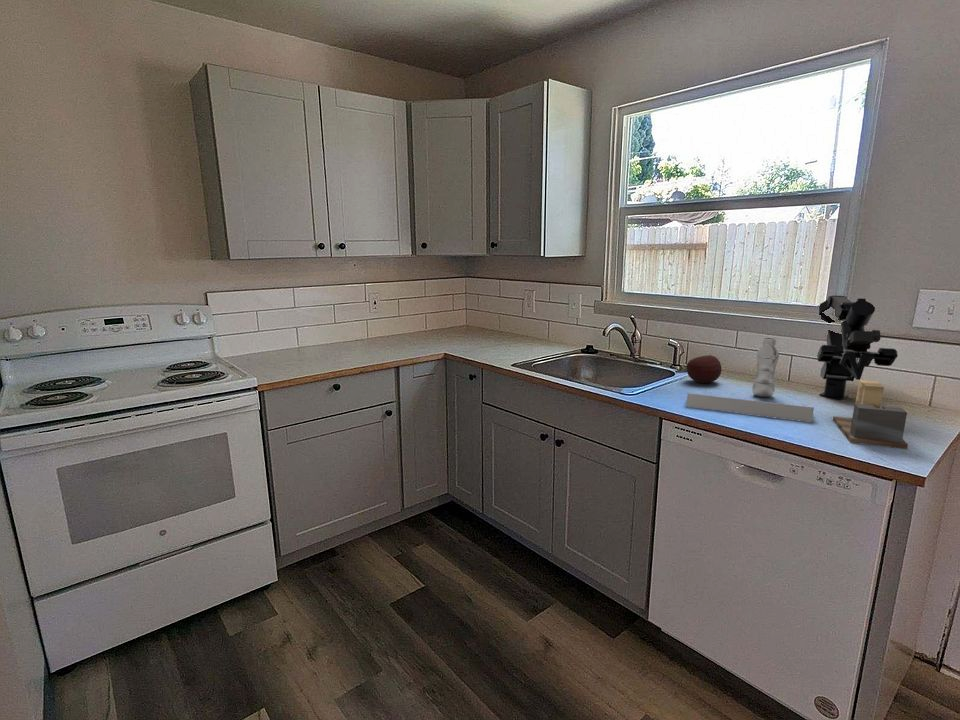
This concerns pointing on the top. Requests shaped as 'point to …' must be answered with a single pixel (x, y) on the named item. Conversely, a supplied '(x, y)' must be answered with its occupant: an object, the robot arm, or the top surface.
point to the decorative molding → (750, 407)
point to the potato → (704, 369)
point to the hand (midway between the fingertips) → (858, 379)
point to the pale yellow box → (869, 393)
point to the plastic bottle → (766, 368)
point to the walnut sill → (874, 426)
